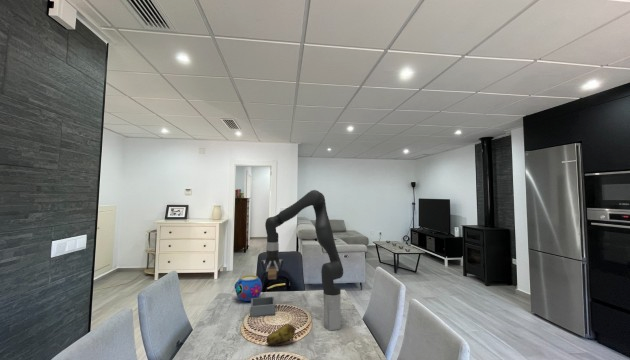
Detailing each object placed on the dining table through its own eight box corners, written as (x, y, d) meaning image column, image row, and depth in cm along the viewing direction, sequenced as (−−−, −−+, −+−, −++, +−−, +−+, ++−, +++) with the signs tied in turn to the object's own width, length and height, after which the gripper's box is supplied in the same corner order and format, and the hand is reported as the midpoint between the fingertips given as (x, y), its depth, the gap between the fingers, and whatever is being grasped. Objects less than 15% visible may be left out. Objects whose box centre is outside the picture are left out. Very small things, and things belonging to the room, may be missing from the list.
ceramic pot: (233, 298, 185) (233, 275, 186) (258, 294, 192) (258, 272, 193) (237, 306, 169) (237, 282, 170) (264, 302, 176) (264, 279, 177)
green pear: (270, 337, 130) (270, 320, 130) (296, 339, 128) (296, 321, 129) (265, 346, 122) (265, 328, 122) (292, 348, 120) (292, 330, 121)
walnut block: (276, 279, 161) (276, 269, 161) (268, 279, 160) (268, 269, 160) (276, 276, 166) (276, 266, 166) (267, 277, 165) (268, 267, 165)
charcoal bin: (275, 315, 155) (275, 304, 156) (250, 317, 153) (250, 306, 153) (273, 306, 169) (273, 296, 170) (251, 308, 166) (251, 298, 167)
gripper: (260, 250, 159) (260, 279, 158) (284, 249, 162) (284, 278, 161) (260, 248, 166) (260, 275, 165) (283, 247, 169) (283, 274, 168)
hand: (272, 276), depth 163 cm, fingers closed on walnut block, 5 cm apart
